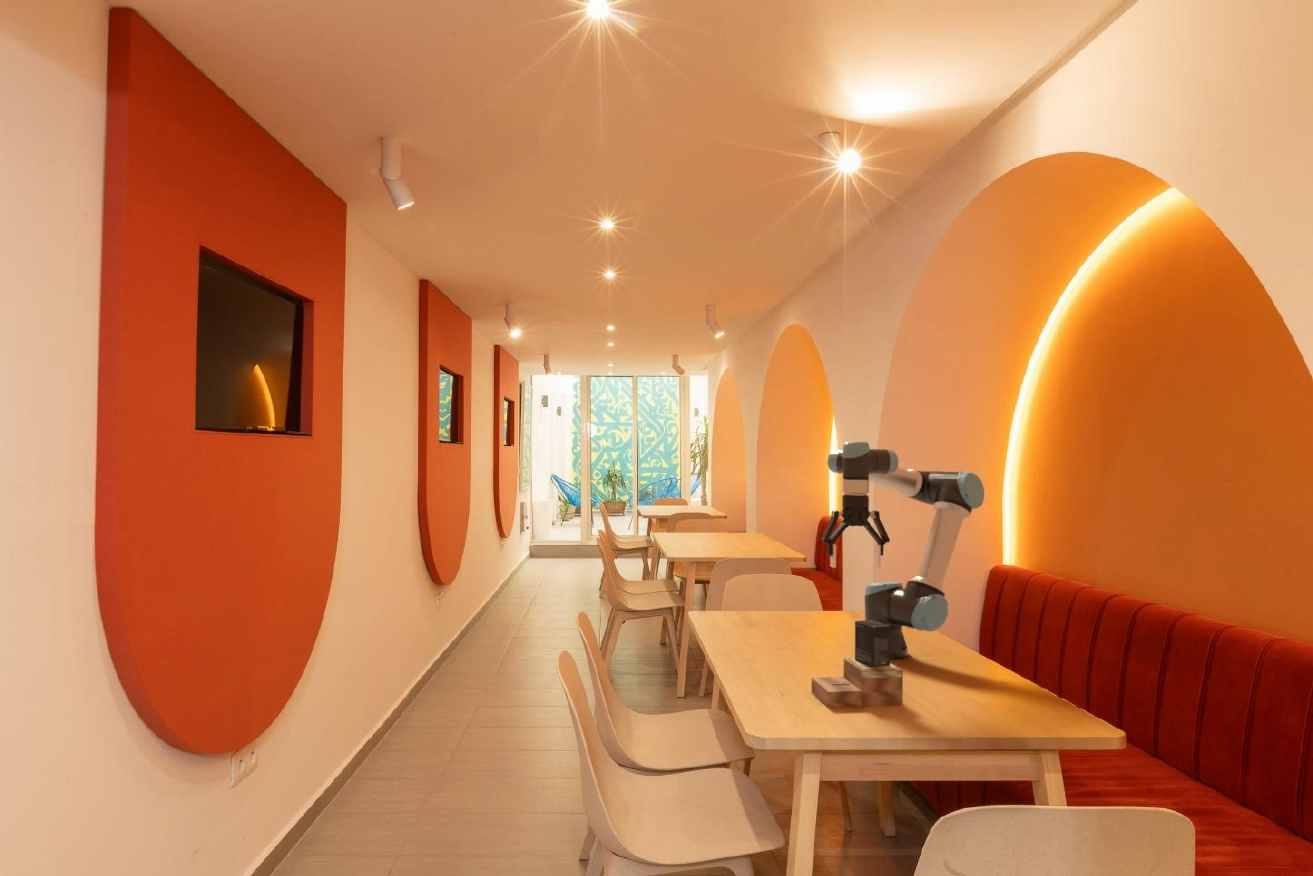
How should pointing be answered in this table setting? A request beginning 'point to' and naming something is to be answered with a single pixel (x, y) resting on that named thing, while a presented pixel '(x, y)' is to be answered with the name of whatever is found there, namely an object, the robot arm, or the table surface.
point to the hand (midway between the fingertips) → (855, 567)
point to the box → (872, 643)
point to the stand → (861, 686)
